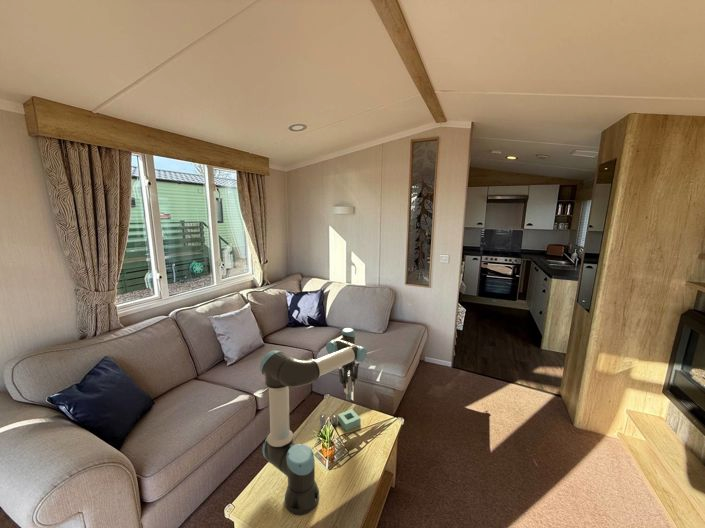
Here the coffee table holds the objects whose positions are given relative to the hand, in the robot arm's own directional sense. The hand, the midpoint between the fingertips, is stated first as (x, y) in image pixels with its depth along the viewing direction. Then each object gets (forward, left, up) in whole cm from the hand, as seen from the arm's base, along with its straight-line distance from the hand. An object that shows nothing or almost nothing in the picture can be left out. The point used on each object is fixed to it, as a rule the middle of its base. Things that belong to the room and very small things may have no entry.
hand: (348, 391), depth 178 cm
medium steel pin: (-16, +3, -21) cm, 26 cm away
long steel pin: (0, 0, -5) cm, 5 cm away
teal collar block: (0, 0, -21) cm, 21 cm away
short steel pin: (-8, +4, -21) cm, 23 cm away
